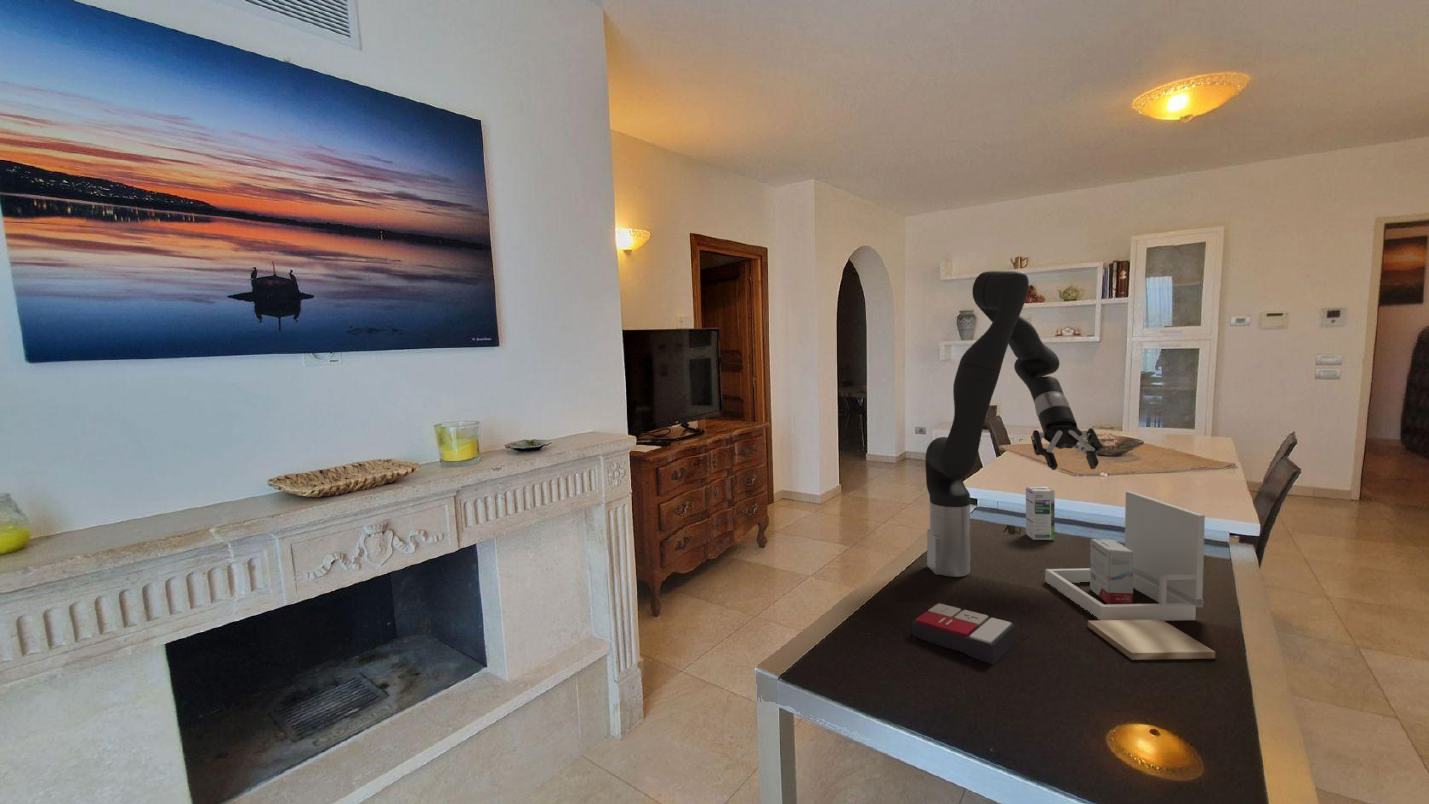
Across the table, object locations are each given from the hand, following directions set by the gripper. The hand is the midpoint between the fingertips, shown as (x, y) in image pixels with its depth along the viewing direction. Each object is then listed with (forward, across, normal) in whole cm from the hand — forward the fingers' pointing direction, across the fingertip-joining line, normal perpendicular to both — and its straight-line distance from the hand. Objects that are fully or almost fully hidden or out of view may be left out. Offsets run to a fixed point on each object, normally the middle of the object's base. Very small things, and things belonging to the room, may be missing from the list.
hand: (1074, 467), depth 132 cm
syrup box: (+1, +2, +38) cm, 38 cm away
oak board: (+41, -2, -8) cm, 42 cm away
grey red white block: (+43, -35, -10) cm, 56 cm away
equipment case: (+29, +1, +6) cm, 30 cm away
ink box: (+28, +1, +7) cm, 29 cm away
